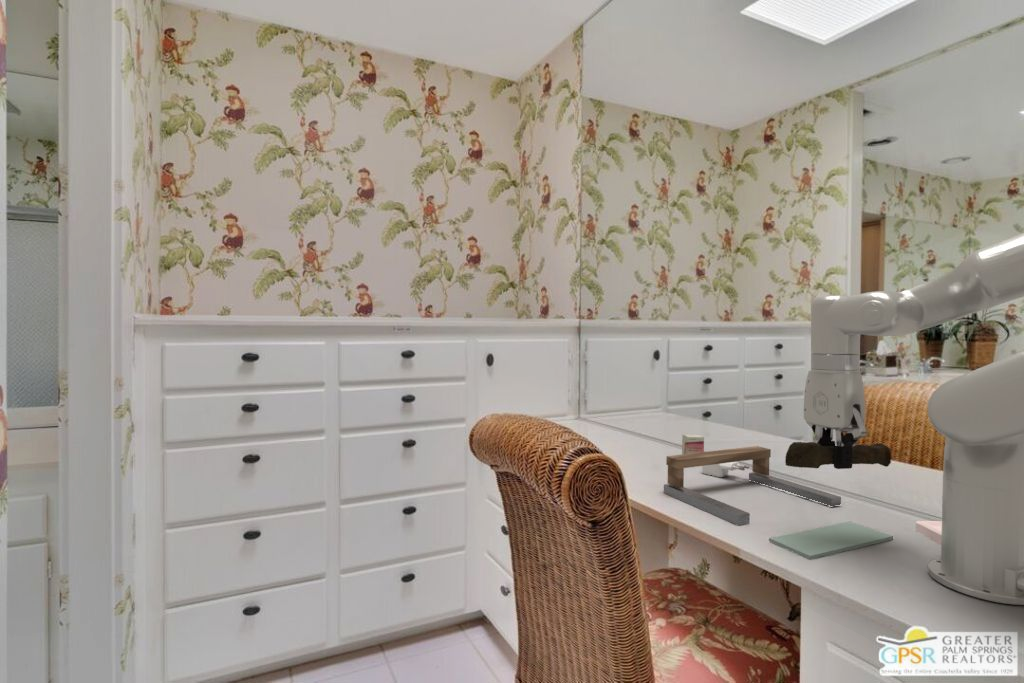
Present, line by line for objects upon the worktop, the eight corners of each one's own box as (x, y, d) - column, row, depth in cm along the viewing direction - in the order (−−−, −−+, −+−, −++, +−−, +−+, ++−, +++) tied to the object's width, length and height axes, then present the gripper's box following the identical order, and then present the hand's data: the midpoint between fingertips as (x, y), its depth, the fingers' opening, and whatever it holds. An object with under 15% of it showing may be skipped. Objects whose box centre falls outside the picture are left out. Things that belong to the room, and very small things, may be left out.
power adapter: (750, 479, 134) (750, 457, 134) (742, 483, 130) (742, 460, 130) (709, 471, 142) (709, 449, 142) (700, 474, 139) (700, 452, 138)
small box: (686, 464, 149) (687, 436, 149) (681, 460, 153) (682, 433, 153) (704, 464, 149) (704, 436, 149) (698, 460, 153) (699, 433, 153)
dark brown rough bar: (876, 462, 97) (876, 437, 97) (892, 468, 93) (892, 442, 93) (777, 464, 96) (777, 439, 96) (790, 470, 92) (790, 444, 92)
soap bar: (942, 532, 100) (943, 520, 100) (983, 553, 91) (983, 539, 91) (913, 532, 100) (914, 519, 100) (951, 552, 91) (951, 538, 91)
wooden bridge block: (770, 474, 130) (770, 449, 130) (677, 488, 118) (678, 460, 118) (757, 470, 133) (757, 446, 133) (666, 483, 122) (666, 456, 122)
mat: (893, 539, 95) (893, 536, 95) (809, 559, 87) (810, 555, 87) (849, 524, 103) (849, 521, 103) (769, 541, 94) (769, 538, 94)
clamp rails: (840, 505, 114) (841, 496, 114) (738, 525, 102) (738, 515, 102) (757, 479, 134) (757, 471, 134) (663, 493, 122) (663, 484, 122)
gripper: (785, 362, 102) (785, 456, 102) (851, 366, 86) (851, 478, 86) (820, 361, 103) (820, 454, 103) (892, 366, 87) (892, 476, 87)
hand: (834, 464), depth 94 cm, fingers closed on dark brown rough bar, 3 cm apart
